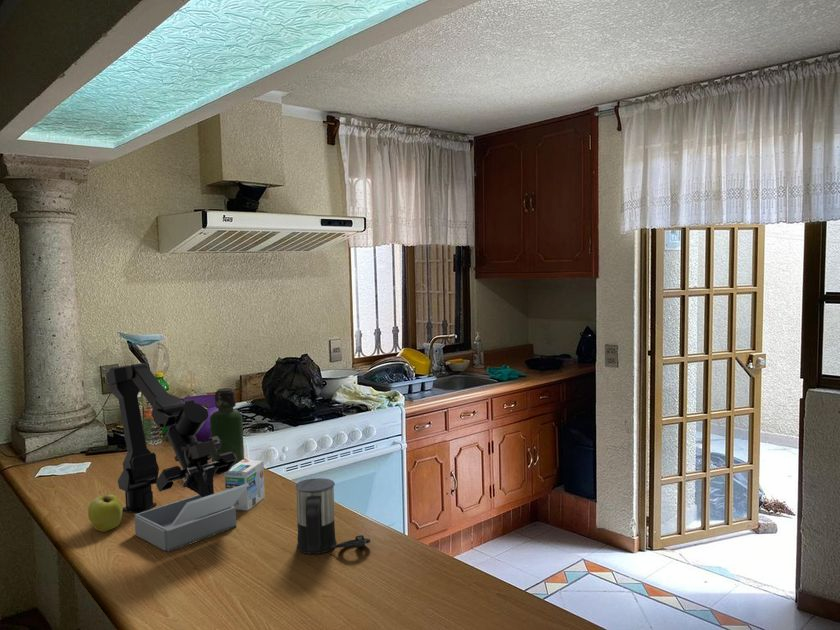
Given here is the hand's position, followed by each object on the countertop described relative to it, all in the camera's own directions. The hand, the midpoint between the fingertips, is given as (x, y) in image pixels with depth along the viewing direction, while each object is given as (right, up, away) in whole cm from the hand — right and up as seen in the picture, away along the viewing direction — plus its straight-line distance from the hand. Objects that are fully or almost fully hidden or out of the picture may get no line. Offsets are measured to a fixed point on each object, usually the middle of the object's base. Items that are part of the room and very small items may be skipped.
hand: (212, 501), depth 148 cm
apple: (-30, -10, +10) cm, 33 cm away
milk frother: (+29, -10, -2) cm, 31 cm away
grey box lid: (-3, -5, +3) cm, 7 cm away
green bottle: (-16, -6, +64) cm, 66 cm away
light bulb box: (+1, -9, +27) cm, 28 cm away
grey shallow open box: (-9, -10, +9) cm, 16 cm away
